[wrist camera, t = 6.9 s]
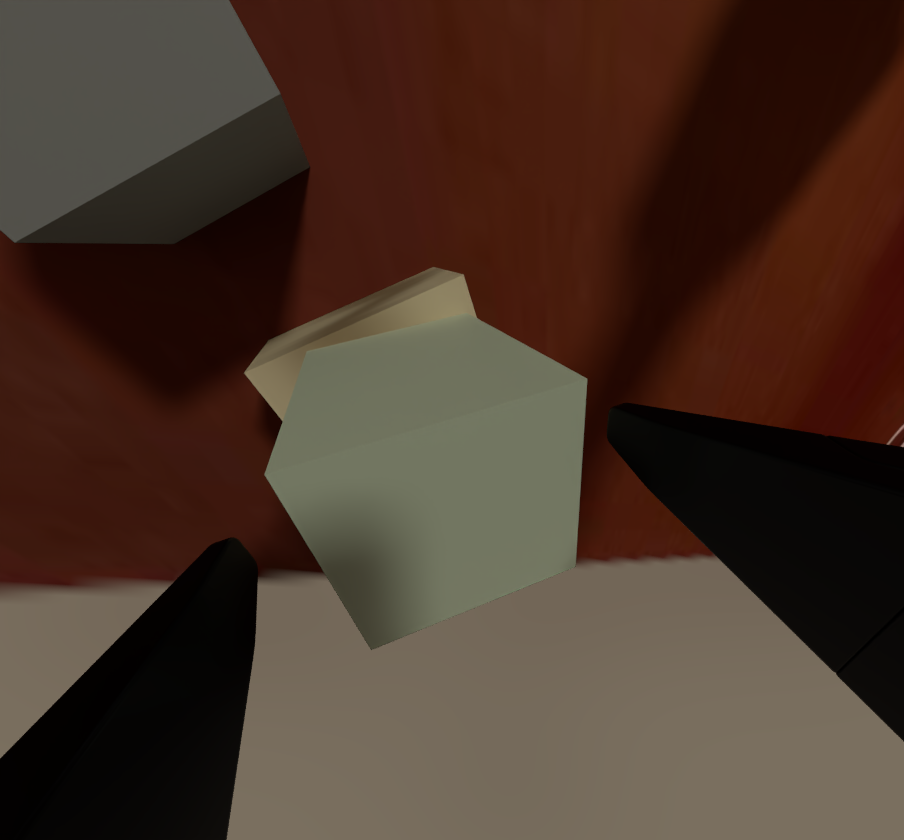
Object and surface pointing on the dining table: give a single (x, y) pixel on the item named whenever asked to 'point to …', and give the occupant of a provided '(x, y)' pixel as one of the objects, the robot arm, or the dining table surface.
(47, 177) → the grey block
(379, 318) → the maple base
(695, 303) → the dining table surface
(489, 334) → the sage block
